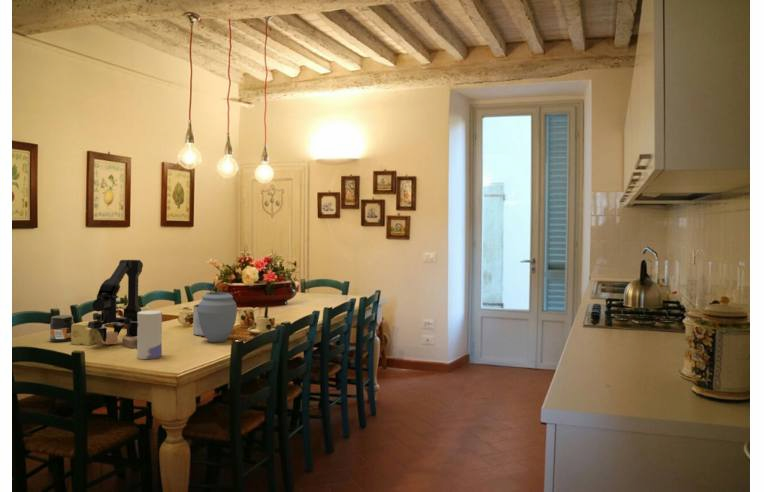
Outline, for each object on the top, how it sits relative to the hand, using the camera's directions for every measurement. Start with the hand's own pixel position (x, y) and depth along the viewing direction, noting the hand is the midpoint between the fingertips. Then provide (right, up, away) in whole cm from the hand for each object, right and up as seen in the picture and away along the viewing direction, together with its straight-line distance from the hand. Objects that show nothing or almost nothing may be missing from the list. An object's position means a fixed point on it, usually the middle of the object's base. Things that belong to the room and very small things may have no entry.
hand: (109, 340), depth 274 cm
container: (+28, -4, -21) cm, 36 cm away
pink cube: (0, -1, 0) cm, 1 cm away
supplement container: (-27, -2, +8) cm, 29 cm away
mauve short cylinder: (+12, -3, -1) cm, 13 cm away
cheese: (-13, -2, +4) cm, 14 cm away
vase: (+48, -3, +15) cm, 50 cm away
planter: (+38, -2, +32) cm, 50 cm away
